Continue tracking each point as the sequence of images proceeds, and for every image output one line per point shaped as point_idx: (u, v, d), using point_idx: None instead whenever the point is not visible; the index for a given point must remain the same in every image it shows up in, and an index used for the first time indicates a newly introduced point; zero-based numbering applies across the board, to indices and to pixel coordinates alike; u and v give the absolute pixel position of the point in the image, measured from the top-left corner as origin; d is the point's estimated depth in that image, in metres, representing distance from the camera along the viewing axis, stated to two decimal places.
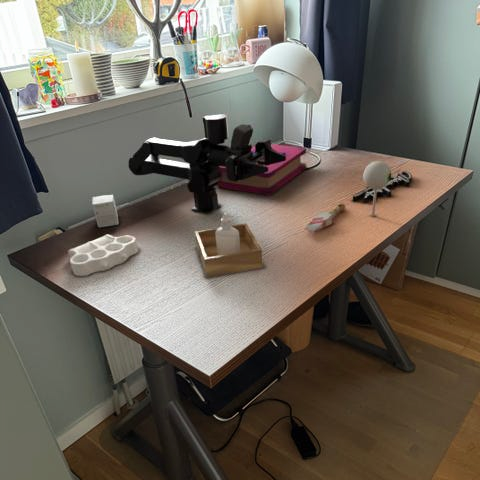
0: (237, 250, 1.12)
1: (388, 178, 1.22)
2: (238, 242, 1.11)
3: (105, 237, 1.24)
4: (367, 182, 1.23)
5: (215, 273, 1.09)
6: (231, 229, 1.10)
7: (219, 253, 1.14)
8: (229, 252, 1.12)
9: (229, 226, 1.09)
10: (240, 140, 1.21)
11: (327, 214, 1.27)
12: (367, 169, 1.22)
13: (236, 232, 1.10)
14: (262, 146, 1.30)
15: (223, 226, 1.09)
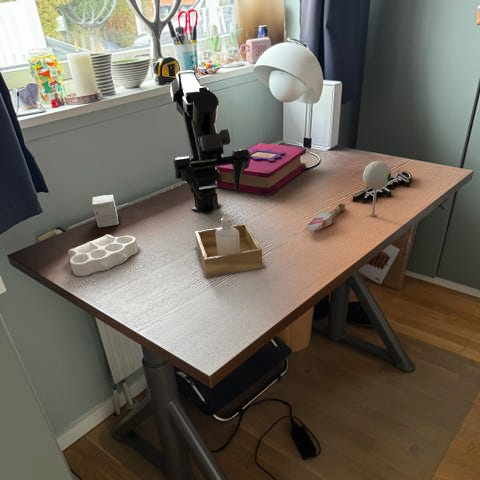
0: (237, 250, 1.12)
1: (388, 178, 1.22)
2: (238, 242, 1.11)
3: (105, 237, 1.24)
4: (367, 182, 1.23)
5: (215, 273, 1.09)
6: (231, 229, 1.10)
7: (219, 253, 1.14)
8: (229, 252, 1.12)
9: (229, 226, 1.09)
10: (202, 149, 1.10)
11: (327, 214, 1.27)
12: (367, 169, 1.22)
13: (236, 232, 1.10)
14: None
15: (223, 226, 1.09)
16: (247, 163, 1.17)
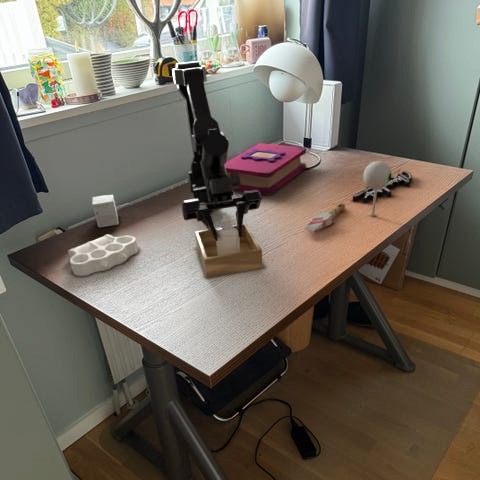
0: (237, 250, 1.12)
1: (388, 178, 1.22)
2: (238, 242, 1.11)
3: (105, 237, 1.24)
4: (367, 182, 1.23)
5: (215, 273, 1.09)
6: (231, 229, 1.10)
7: (219, 253, 1.14)
8: (229, 252, 1.12)
9: (229, 226, 1.09)
10: (212, 192, 1.06)
11: (327, 214, 1.27)
12: (367, 169, 1.22)
13: (236, 232, 1.10)
14: None
15: (223, 226, 1.09)
16: (257, 204, 1.13)
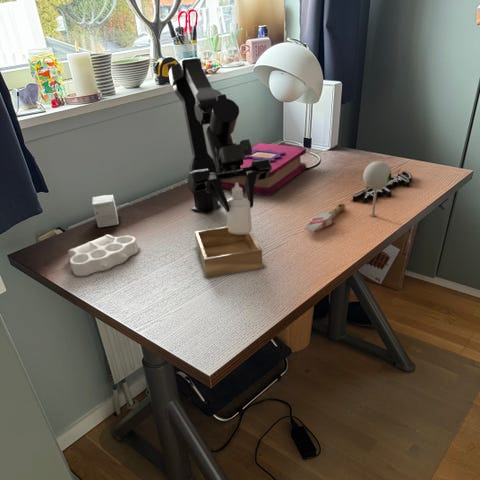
0: (249, 221, 1.09)
1: (388, 178, 1.22)
2: (250, 213, 1.09)
3: (105, 237, 1.24)
4: (367, 182, 1.23)
5: (215, 273, 1.09)
6: (242, 199, 1.07)
7: (230, 225, 1.11)
8: (241, 223, 1.09)
9: (240, 196, 1.06)
10: (223, 161, 1.03)
11: (327, 214, 1.27)
12: (367, 169, 1.22)
13: (248, 202, 1.07)
14: None
15: (234, 196, 1.06)
16: (267, 174, 1.11)
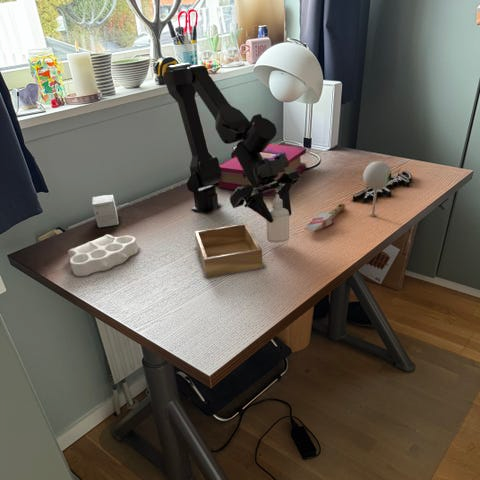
0: (288, 229, 1.17)
1: (388, 178, 1.22)
2: (288, 221, 1.17)
3: (105, 237, 1.24)
4: (367, 182, 1.23)
5: (215, 273, 1.09)
6: (283, 209, 1.14)
7: (270, 235, 1.17)
8: (282, 232, 1.17)
9: (281, 206, 1.14)
10: (265, 175, 1.10)
11: (327, 214, 1.27)
12: (367, 169, 1.22)
13: None
14: None
15: (276, 207, 1.13)
16: (294, 183, 1.20)
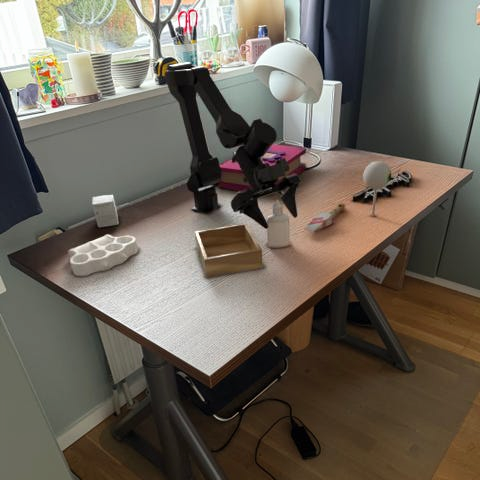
0: (289, 234, 1.18)
1: (388, 178, 1.22)
2: None
3: (105, 237, 1.24)
4: (367, 182, 1.23)
5: (215, 273, 1.09)
6: (283, 214, 1.15)
7: (271, 240, 1.18)
8: (282, 237, 1.17)
9: (281, 212, 1.15)
10: (266, 180, 1.10)
11: (327, 214, 1.27)
12: (367, 169, 1.22)
13: (288, 216, 1.16)
14: None
15: (277, 212, 1.14)
16: None
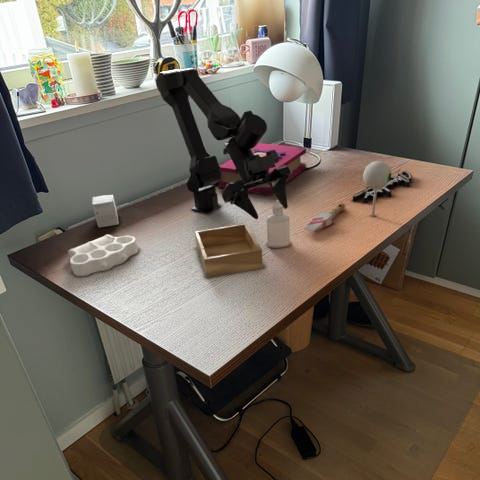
0: (289, 234, 1.18)
1: (388, 178, 1.22)
2: None
3: (105, 237, 1.24)
4: (367, 182, 1.23)
5: (215, 273, 1.09)
6: (283, 214, 1.15)
7: (271, 240, 1.18)
8: (282, 237, 1.17)
9: (282, 212, 1.15)
10: (256, 171, 1.12)
11: (327, 214, 1.27)
12: (367, 169, 1.22)
13: (288, 216, 1.16)
14: None
15: (277, 212, 1.14)
16: None
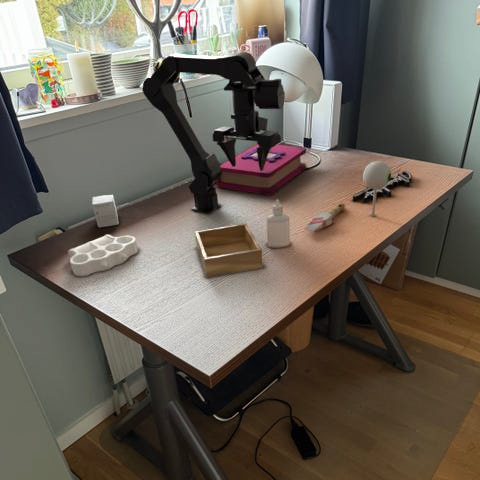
0: (289, 234, 1.18)
1: (388, 178, 1.22)
2: None
3: (105, 237, 1.24)
4: (367, 182, 1.23)
5: (215, 273, 1.09)
6: (283, 214, 1.15)
7: (271, 240, 1.18)
8: (282, 237, 1.17)
9: (282, 212, 1.15)
10: (263, 128, 1.28)
11: (327, 214, 1.27)
12: (367, 169, 1.22)
13: (288, 216, 1.16)
14: None
15: (277, 212, 1.14)
16: None
